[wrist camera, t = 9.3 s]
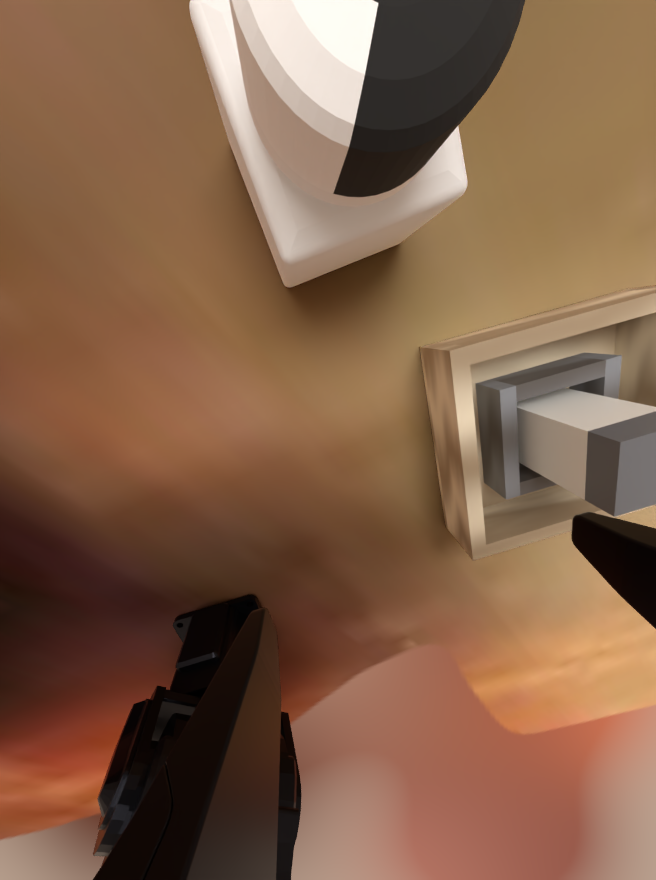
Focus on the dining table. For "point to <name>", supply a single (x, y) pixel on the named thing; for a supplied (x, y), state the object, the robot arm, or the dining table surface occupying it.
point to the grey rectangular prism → (591, 447)
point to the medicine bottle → (349, 114)
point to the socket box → (495, 410)
